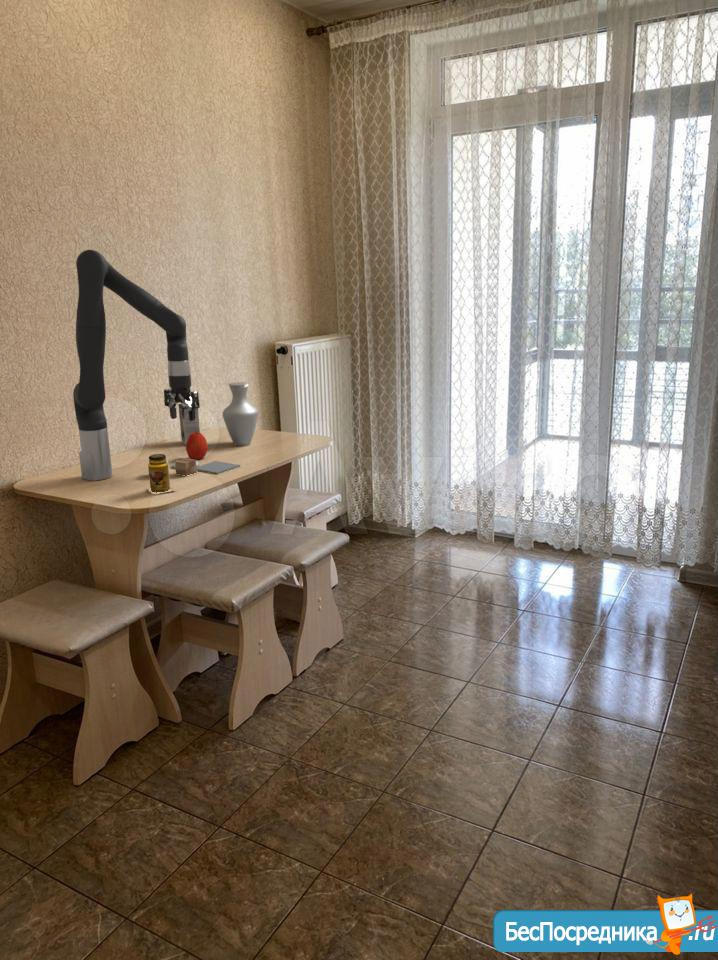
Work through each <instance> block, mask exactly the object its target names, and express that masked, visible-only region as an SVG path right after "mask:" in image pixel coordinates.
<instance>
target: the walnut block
mask: <svg viewBox="0 0 718 960" xmlns="http://www.w3.org/2000/svg"><path fill="white" fill-rule="evenodd" d="M196 460H197V459H196ZM196 460H194V459H191V458H187V457H184V458H181V459H178V460H175V461H174V462H175V467H176V468H175V475H176V474H180V475H185V476H187V475H190V474H193V475H195V474H194V473H196V474H197V473H198V471H197V469H196ZM180 475H179V476H180ZM185 476H184V477H185ZM190 476H191V475H190ZM187 477H188V476H187Z"/></svg>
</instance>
